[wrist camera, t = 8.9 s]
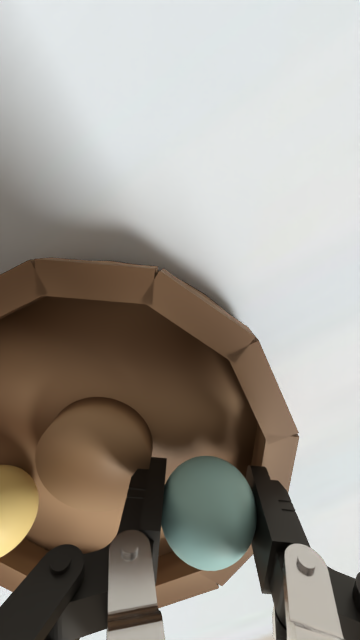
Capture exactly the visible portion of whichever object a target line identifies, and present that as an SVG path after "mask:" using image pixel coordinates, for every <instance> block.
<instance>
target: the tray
mask: <svg viewBox="0 0 360 640" xmlns="http://www.w3.org/2000/svg"><path fill="white" fill-rule="evenodd" d="M297 433H299V432H298V430H297V428H296V426H295V423H294V421H293V419H292V416H291V414H290V412H289V409H288V407H287V405H286V402H285V400H284V398H283V395H282V393H281V391H280V389H279V386H278V384H277V382H276V379H275V377H274V375H273V372H272V370H271V368H270V365H269V363H268V361H267V359H266V356H265V354H264V352H263V349H262V347H261V345H260V342H259V340H258V339H257V338H256V337H255V335H254V334H253V333H252V331H251V330H250V329H249V328H248V327H247V326H246V325H244V324H243V323H241V322H240V321H238V320H237V319H235V318H234V317H233V316H231V315H230V314H228V313H227V312H226V311H225V310H224V309H223V308H221V307H220V306H219V305H218V304H216V303H215V302H214V301H213V300H211V299H210V298H209V297H208V296H206V295H205V294H204V293H202V292H200V291H199V290H197V289H195V288H194V287H192V286H190V285H189V284H187V283H185V282H184V281H181V280H179V279H178V278H176V277H175V276H174V275H172V274H171V273H169V272H168V271H166V270H165V269H164V268H163V269H161V270H160V271H158V266H147V265H136V264H129V263H123V262H116V261H86V260H74V259H62V258H39V259H34V260H28V261H26V262H24V263H22V264H20V265H18V266H16V267H15V268H13V269H11V270H9V271H7V272H5V273H3V274H1V275H0V465H12V466H16V467H19V468H21V469H23V470H24V471H26V472H27V473H28V474H29V475H30V476H31V477H32V479H33V480H34V482H35V484H36V486H37V490H38V495H39V505H38V511H37V515H36V518H35V521H34V523H33V525H32V527H31V529H30V530H29V532H28V533H27V535H26V536H25V537H24V539H23V540H22V541H21V542H20V543H19V544H18V545H17V546H16V547H15V548H14V549H13V550H11V551H10V552H9V553H7V554H6V555H4V556H2V557H0V586H2V587H4V588H6V589H8V590H10V591H12V592H14V590H15V589H16V588H17V587H18V586H19V585H20V583H21V582H22V581H23V580H24V579H25V578H26V576H27V575H28V574H29V573H30V572H31V571H32V569H33V568H34V567H35V566H36V565H37V564H38V562H39V561H40V560H41V559H42V558H43V557H44V555H45V554H46V553H48V552H49V551H50V550H51V549H53V548H55V547H57V546H60V545H64V544H71V545H74V546H76V547H78V548H79V549H80V550H81V551H82V553H83V554H86V553H90V552H94V551H97V550H100V549H102V548H104V547H106V546H107V545H109V544H110V543H111V542H112V540H113V539H114V538H115V537H116V535H117V533H118V530H119V525H120V521H121V517H122V513H123V509H124V505H125V500H126V497H127V492H128V489H129V484H130V480H131V477H132V475H133V474H134V473H135V472H136V470H137V469H149V466H150V460H151V457H159V458H167V465H166V477H165V484H166V482H167V480H168V478H169V476H170V475H171V474H172V472H173V471H174V470H175V469H176V468H177V467H178V466H179V465H181V464H182V463H184V462H185V461H187V460H189V459H191V458H194V457H198V456H214V457H218V458H221V459H223V460H225V461H227V462H229V463H230V464H232V465H233V466H235V467H236V468H237V469H238V470H239V471H240V472H241V473H242V475H243V476H244V477H245V478H246V473H247V467H248V465H252V466H264V467H266V468H267V471H268V474H269V476H270V479H271V480H278V481H279V482H280V483H281V484H282V485H283V487H284V488H285V489H286V490H287V492H288V491H289V486H290V481H291V475H292V470H293V465H294V460H295V455H296V450H297V445H298V440H299V436H298V434H297ZM252 555H253V550H252V545H251V544H250V546H249V548H248V550H247V551H246V553H245V554H244V555H243V556H242V557H241V558H240V559H239V560H238V561H237V562H236V563H234V564H233V565H231V566H229V567H227V568H225V569H221V570H217V571H205V570H200V569H197V568H194V567H192V566H190V565H188V564H187V563H185V562H184V561H183V560H181V559H180V558H179V557H178V556H177V555H176V554H175V553H174V551H173V550H172V548H171V547H170V546H169V544H168V542H167V540H166V538H165V536H164V533H163V530H162V526H161V534H160V546H159V557H158V568H157V579H156V584H155V589H156V597H157V605H158V608H161V607H164V606H167V605H170V604H173V603H176V602H179V601H182V600H185V599H188V598H191V597H194V596H197V595H200V594H203V593H206V592H209V591H212V590H215V589H218V588H219V586H218V584H219V585H221V586H223V585H224V584H225V583H226V582H227V581H228V580H229V578H230V577H231V576H232V575H233V574H234V573H235V572H236V571H237V570H238V569H239V568H240V567H241V566H242V565H243V564H244V563H245V562H246V561H247V560H248V559H249V558H250V557H251V556H252Z"/></svg>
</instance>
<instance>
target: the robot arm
mask: <svg viewBox="0 0 360 640" xmlns="http://www.w3.org/2000/svg"><path fill="white" fill-rule="evenodd" d="M166 465H167V458H159V457H151V460H150V466H149V469H137V470H136V472H135V473H134V474H133V475H132V477H131V480H130V484H129V489H128V492H127V497H126V500H125V505H124V509H123V513H122V517H121V521H120V525H119V530H118V533H117V535H116V537H115V538H114V539H113V540H112V542H111V543H110V544H109V545H107V546H106V547H104V548H102V549H100V550H97V551H94V552H90V553H86V554H83V553H82V551H81V550H80V549H79V548H78V547H76V546H74V545H71V544H64V545H60V546H57V547H55V548H53V549H51V550H50V551H49V552H48V553H46V554H45V555H44V557H43V558H42V559H41V560H40V561H39V562H38V564H37V565H36V566H35V567H34V568H33V569H32V571H31V572H30V573H29V574H28V575H27V576H26V578H25V579H24V580H23V581H22V582H21V583H20V585H19V586H18V587H17V588H16V589H15V590H14V592H13V593H12V594H11V595H10V596H9V597H8V598H7V600H6V601H5V602H4V603H3V604H2V605H1V607H0V640H79V639H80V637H83V636H86V635H89V634H92V633H95V632H98V631H101V630H104V629H107V640H165V635H164V627H163V620H162V615H161V611H159V610H158V605H157V597H156V589H155V584H156V579H157V568H158V557H159V546H160V534H161V522H162V509H163V498H164V487H165V477H166ZM246 480H247V482H248V483H249V485H250V487H251V490H252V492H253V495H254V498H255V503H256V511H257V523H256V530H255V534H254V537H253V540H252V542H251V545H252V550H253V554H254V559H255V563H256V568H257V572H258V577H259V581H260V586H261V591H262V593H264V594H272V598H273V602H274V607H273V612H272V623H273V640H360V572H359V573H358V574H357V577H356V579H354V578H352V577H349V576H347V575H344V574H342V573H339V572H337V571H335V570H333V569H331V568H329V567H328V566H327V565H326V563H325V562H324V560H323V559H322V557H321V556H320V555H319V554H318V553H317V552H316V551H315V550H313V549H312V548H311V547H310V545H309V543H308V540H307V538H306V536H305V533H304V531H303V528H302V526H301V524H300V521H299V519H298V516H297V514H296V512H295V509H294V507H293V504H292V503H291V499H290V497H289V495H288V492H287V490H286V489H285V488H284V487H283V485H282V484H281V483H280V482H279V481H278V480H271V479H270V476H269V474H268V471H267V468H266V467H264V466H252V465H248V467H247V473H246Z"/></svg>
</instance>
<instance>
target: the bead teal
mask: <svg viewBox="0 0 360 640" xmlns="http://www.w3.org/2000/svg"><path fill="white" fill-rule="evenodd" d="M256 523H257V511H256V503H255V498H254V495H253V492H252V490H251V487H250V485H249V483H248V482H247V480H246V478H245V477H244V476H243V475H242V473H241V472H240V471H239V470H238V469H237V468H236V467H235V466H233V465H232V464H230V463H229V462H227V461H225V460H223V459H221V458H218V457H214V456H198V457H194V458H191V459H189V460H187V461H185V462H184V463H182V464H181V465H179V466H178V467H177V468H176V469H175V470H174V471H173V472H172V474H171V475H170V476H169V478H168V480H167V482H166V484H165V487H164V498H163V509H162V522H161V526H162V530H163V533H164V536H165V538H166V540H167V542H168V544H169V546H170V547H171V548H172V550H173V551H174V553H175V554H176V555H177V556H178V557H179V558H180V559H181V560H183V561H184V562H185V563H187V564H188V565H190V566H192V567H194V568H197V569H200V570H205V571H217V570H221V569H225V568H227V567H229V566H231V565H233V564H234V563H236V562H237V561H238V560H239V559H240V558H241V557H242V556H243V555H244V554H245V553H246V551H247V550H248V548H249V546H250V544H251V542H252V540H253V537H254V534H255V530H256Z"/></svg>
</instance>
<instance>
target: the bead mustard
mask: <svg viewBox="0 0 360 640" xmlns="http://www.w3.org/2000/svg"><path fill="white" fill-rule="evenodd" d="M38 505H39V495H38V490H37V486H36V484H35V482H34V480H33V479H32V477H31V476H30V475H29V474H28V473H27V472H26V471H24V470H23V469H21V468H19V467H16V466H12V465H0V557H2V556H4V555H6V554H7V553H9V552H10V551H11V550H13V549H14V548H15V547H16V546H17V545H18V544H19V543H20V542H21V541H22V540H23V539H24V537H25V536H26V535H27V533H28V532H29V530H30V529H31V527H32V525H33V523H34V521H35V518H36V515H37V511H38Z"/></svg>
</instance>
